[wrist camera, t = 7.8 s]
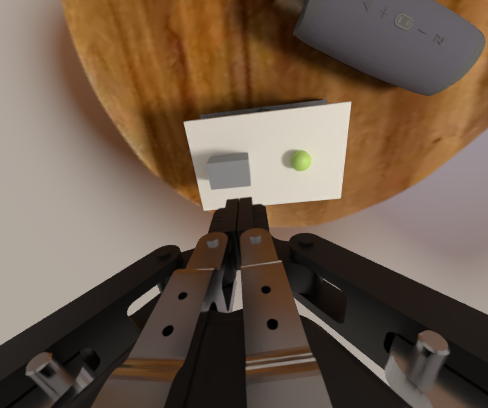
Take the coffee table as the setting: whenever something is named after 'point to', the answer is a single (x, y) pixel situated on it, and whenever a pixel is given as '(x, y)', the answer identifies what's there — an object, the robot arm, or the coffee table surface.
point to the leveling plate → (270, 155)
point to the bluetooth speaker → (394, 40)
